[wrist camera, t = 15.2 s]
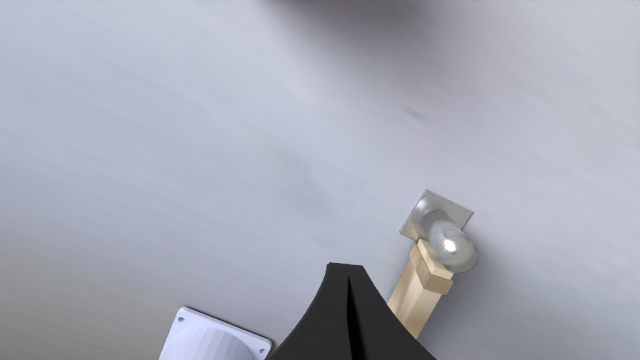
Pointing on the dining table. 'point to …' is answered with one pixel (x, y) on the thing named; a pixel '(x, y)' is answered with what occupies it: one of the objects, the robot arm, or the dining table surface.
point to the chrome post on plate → (442, 231)
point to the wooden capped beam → (419, 287)
